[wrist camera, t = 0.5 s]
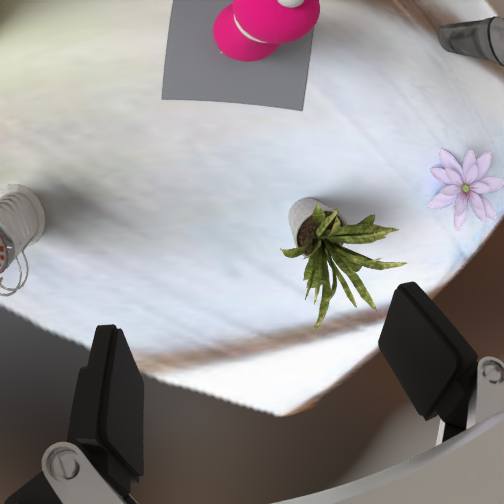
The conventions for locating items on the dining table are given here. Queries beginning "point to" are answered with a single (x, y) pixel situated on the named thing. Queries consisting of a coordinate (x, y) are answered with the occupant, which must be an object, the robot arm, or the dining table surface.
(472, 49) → the beverage cup
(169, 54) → the tile
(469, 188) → the water lily
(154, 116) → the dining table surface
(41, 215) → the french press
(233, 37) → the pepper mill
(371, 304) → the house plant
